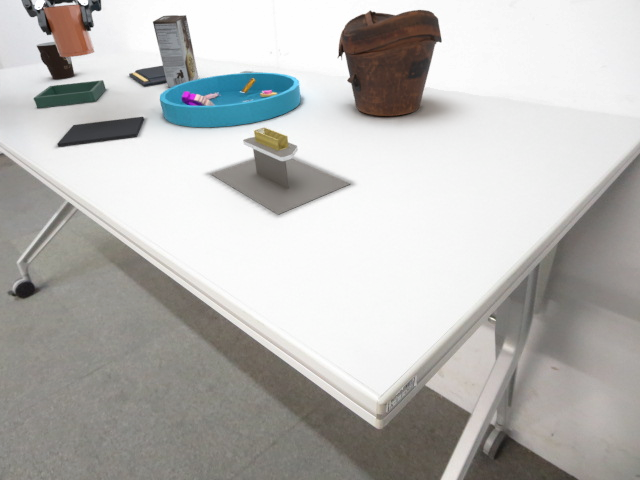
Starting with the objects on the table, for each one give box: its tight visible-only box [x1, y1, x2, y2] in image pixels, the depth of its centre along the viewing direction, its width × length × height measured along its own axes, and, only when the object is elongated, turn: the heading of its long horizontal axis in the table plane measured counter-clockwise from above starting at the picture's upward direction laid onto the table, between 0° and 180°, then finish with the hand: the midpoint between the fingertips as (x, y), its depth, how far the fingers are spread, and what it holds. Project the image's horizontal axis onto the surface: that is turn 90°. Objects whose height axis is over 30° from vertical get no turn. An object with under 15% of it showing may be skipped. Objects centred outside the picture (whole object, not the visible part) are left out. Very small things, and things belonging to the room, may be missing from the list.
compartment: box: [33, 79, 107, 109], centre depth 114 cm, size 14×14×2 cm
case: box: [337, 9, 443, 117], centre depth 85 cm, size 18×20×18 cm
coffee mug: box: [36, 41, 75, 80], centre depth 138 cm, size 12×9×10 cm
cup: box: [43, 4, 95, 58], centre depth 82 cm, size 6×6×8 cm
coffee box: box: [152, 14, 199, 88], centre depth 117 cm, size 9×6×16 cm
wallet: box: [128, 65, 167, 87], centre depth 131 cm, size 20×2×15 cm
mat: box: [56, 116, 145, 148], centre depth 88 cm, size 14×12×1 cm
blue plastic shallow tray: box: [159, 72, 301, 128], centre depth 97 cm, size 30×30×6 cm
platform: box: [210, 126, 351, 215], centre depth 61 cm, size 12×18×7 cm, turn 39°
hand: (67, 29), depth 80 cm, fingers closed on cup, 6 cm apart
